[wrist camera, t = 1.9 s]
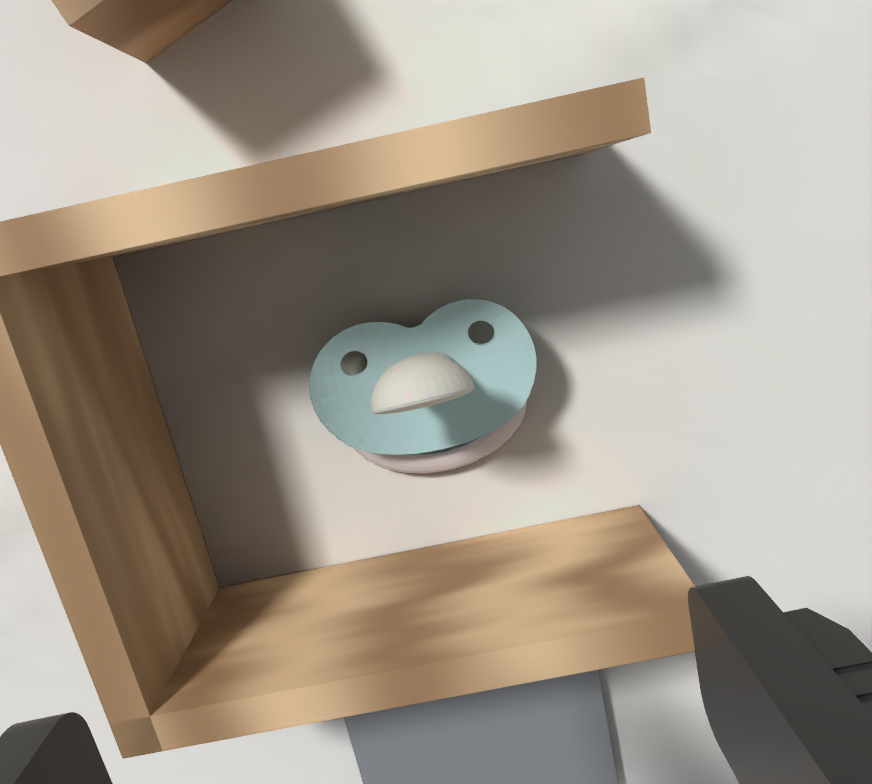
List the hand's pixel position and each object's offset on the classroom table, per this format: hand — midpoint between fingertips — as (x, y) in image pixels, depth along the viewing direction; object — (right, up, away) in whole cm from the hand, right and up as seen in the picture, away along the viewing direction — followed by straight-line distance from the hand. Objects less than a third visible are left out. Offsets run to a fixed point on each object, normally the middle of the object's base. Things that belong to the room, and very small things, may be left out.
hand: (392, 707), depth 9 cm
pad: (+2, -8, +19) cm, 21 cm away
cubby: (-2, +4, +16) cm, 17 cm away
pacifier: (0, +4, +16) cm, 17 cm away
